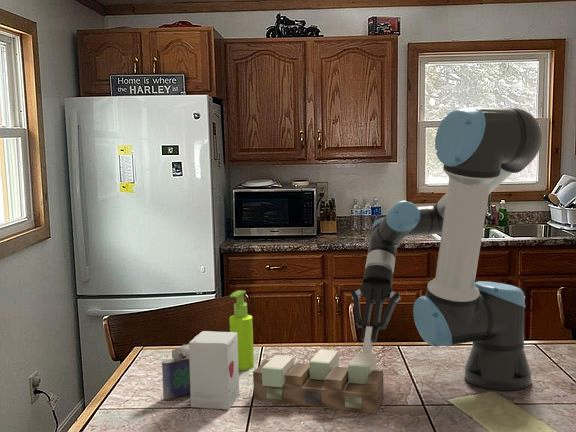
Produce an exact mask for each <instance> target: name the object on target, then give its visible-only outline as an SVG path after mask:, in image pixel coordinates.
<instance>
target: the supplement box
mask: <svg viewBox="0 0 576 432" xmlns="http://www.w3.org/2000/svg"><path fill="white" fill-rule="evenodd" d="M188 344H189V362H190V392H191V395H190V408H197V409H198V408H200V409H201V408H202V409H214V410H215V409H216V410H230V408H231V407H232V406H233V404H234V403H235V402H236V400H237V398H238V397H239V396H240V379H239V377H240V375H239V371H240V370H238V338H237V332H230V331H213V330H212V331H210V330H202V331H201V332H199V334H197V335H196V336H194V337H193V339H191V340H190V341H189V342H188Z"/></svg>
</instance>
